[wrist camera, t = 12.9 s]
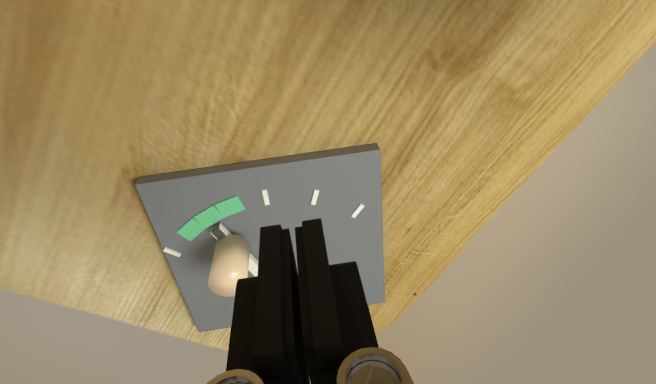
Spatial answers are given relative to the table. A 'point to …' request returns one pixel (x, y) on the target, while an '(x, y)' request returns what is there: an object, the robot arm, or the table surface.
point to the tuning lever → (229, 262)
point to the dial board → (268, 216)
